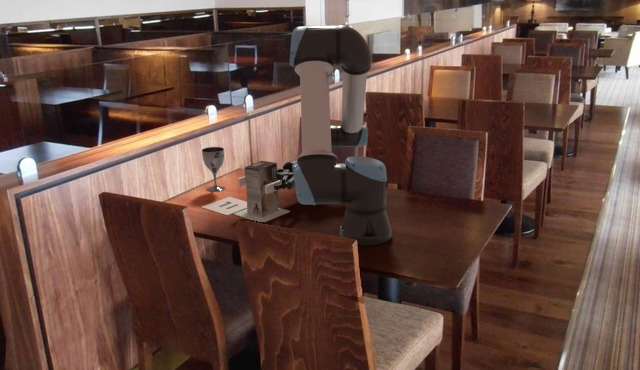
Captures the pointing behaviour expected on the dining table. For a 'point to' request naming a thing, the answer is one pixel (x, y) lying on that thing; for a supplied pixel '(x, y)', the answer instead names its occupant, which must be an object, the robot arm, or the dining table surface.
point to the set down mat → (264, 218)
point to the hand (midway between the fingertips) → (251, 186)
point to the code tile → (227, 206)
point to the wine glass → (213, 164)
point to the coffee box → (261, 188)
